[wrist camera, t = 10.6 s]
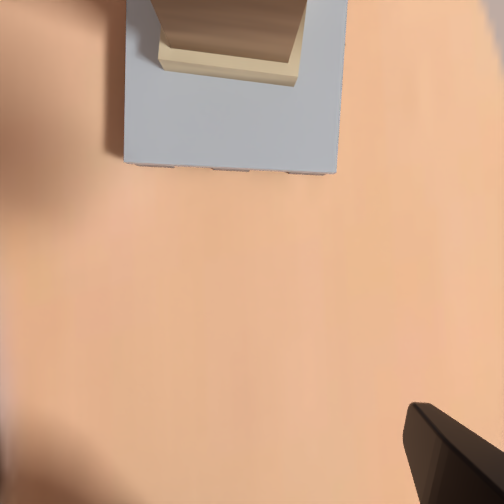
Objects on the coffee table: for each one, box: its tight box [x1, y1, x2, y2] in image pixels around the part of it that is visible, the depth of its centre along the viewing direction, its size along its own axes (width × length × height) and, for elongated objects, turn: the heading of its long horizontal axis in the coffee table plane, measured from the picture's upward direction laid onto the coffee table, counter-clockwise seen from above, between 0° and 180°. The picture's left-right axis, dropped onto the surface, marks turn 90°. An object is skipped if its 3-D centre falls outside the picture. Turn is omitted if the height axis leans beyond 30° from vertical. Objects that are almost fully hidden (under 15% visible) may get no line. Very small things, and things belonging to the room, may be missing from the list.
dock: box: [124, 0, 348, 175], centre depth 19 cm, size 12×10×2 cm
